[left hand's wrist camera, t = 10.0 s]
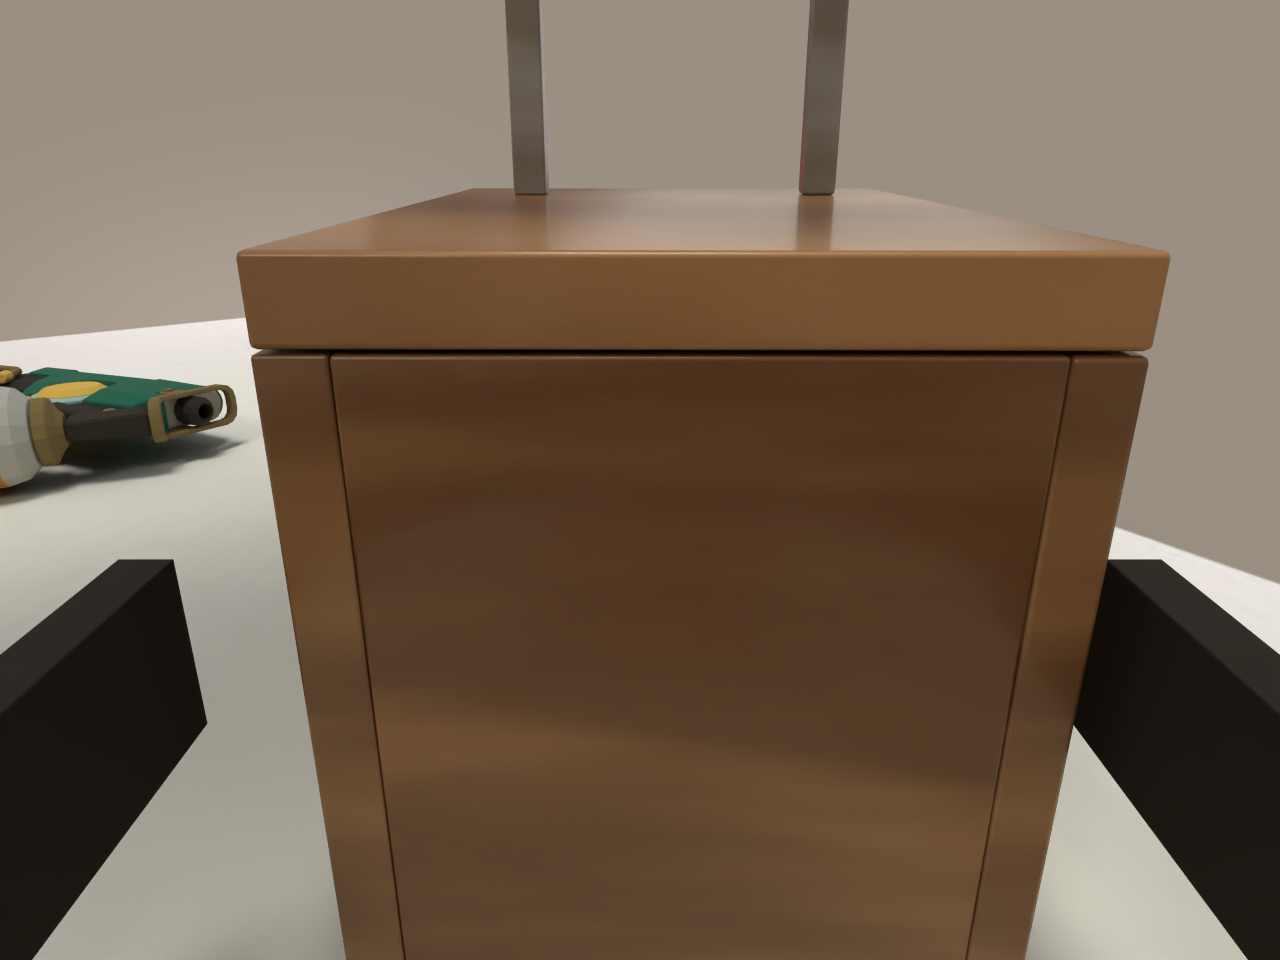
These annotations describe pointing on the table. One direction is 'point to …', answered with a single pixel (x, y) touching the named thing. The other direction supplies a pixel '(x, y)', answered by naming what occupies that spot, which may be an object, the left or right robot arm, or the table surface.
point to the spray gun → (94, 413)
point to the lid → (696, 259)
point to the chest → (693, 640)
